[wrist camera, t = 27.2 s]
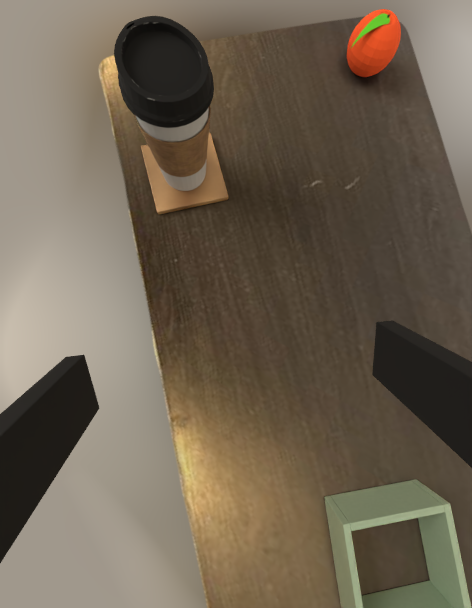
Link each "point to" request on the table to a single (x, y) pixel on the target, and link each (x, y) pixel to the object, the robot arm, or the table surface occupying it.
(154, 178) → the trivet
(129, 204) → the table surface
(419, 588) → the holder
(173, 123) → the coffee cup
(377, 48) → the clementine
